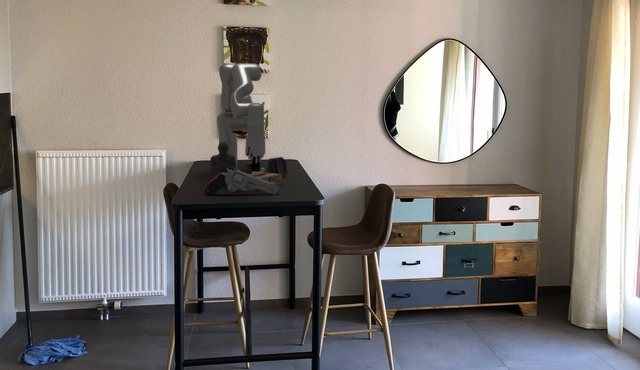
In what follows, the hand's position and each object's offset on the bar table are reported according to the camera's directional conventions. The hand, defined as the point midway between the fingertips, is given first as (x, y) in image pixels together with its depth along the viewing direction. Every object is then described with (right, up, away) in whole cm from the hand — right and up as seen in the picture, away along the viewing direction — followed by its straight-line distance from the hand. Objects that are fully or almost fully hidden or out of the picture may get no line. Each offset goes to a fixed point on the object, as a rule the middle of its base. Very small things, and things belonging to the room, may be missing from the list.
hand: (256, 171), depth 313 cm
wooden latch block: (-1, -7, +5) cm, 8 cm away
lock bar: (-1, -2, +6) cm, 6 cm away
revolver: (-4, -11, -18) cm, 22 cm away
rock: (+8, -3, +33) cm, 34 cm away
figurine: (-16, -6, +9) cm, 19 cm away
